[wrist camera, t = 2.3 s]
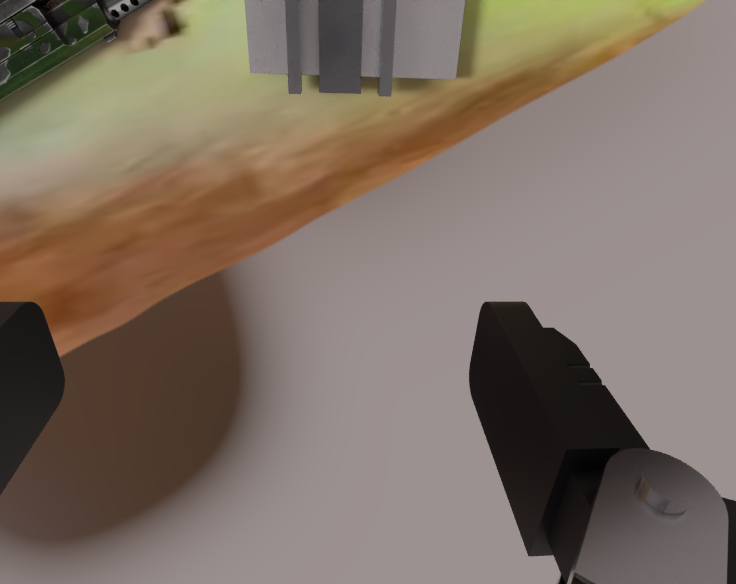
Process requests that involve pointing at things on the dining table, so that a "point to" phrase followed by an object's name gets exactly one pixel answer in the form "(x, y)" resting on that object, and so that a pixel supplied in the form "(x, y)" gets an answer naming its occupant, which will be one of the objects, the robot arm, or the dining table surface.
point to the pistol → (52, 35)
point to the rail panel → (354, 41)
